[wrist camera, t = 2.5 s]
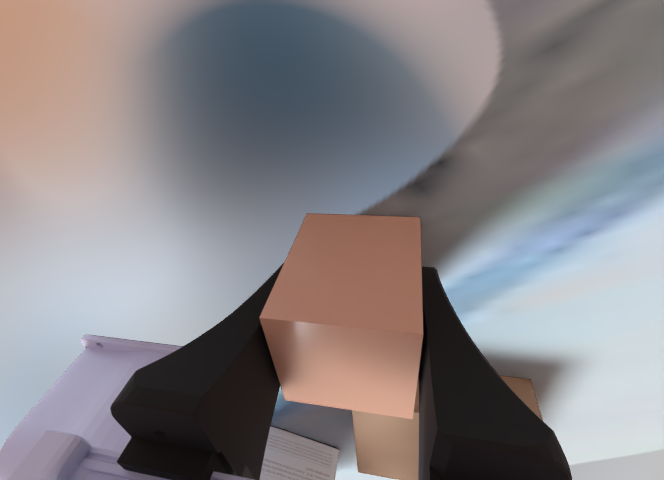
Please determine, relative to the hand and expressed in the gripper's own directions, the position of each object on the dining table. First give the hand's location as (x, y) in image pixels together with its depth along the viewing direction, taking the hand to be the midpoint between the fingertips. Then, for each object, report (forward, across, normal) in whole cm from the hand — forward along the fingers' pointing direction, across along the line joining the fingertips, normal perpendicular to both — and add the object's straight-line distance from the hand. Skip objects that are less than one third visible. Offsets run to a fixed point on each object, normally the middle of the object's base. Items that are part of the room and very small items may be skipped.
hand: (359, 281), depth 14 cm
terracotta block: (+1, 0, 0) cm, 1 cm away
